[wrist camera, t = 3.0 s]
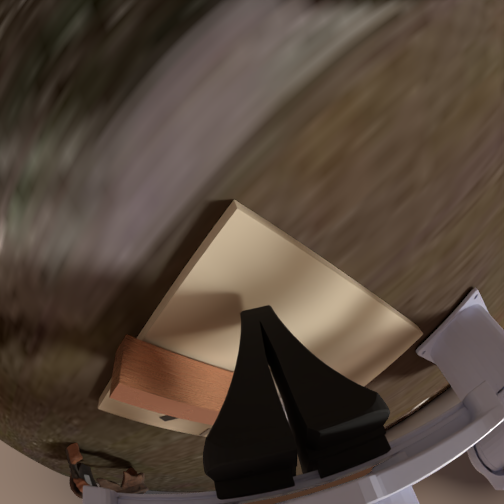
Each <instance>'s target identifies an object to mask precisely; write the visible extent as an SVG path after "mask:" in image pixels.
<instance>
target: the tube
mask: <svg viewBox="0 0 504 504" xmlns="http://www.w3.org/2000/svg"><path fill="white" fill-rule="evenodd" d="M460 402H461V401H460V399H459V398H458V396H457V395H456V393H455V391H454V390H453V388H452V387H450V388H449V389H448V390H446V391H445V392H444V393H442V394H441V395H440V396H438V397H437V398H436V399H434V400H433V401H432V402H430V403H429V404H427V405H426V406H424V407H423V408H422V409H420V410H419V411H417V412H416V413H414V414H413V415H411V416H410V417H408V418H406V419H405V420H403V421H402V422H400V423H398V424H397V425H395V426H394V427H392V428H390V429H388V430H387V431H386V434H385V436H386V438H387V440H388V443H389V442H391V441H393V440H395V439H397V438H399V437H401V436H403V435H405V434H407V433H409V432H411V431H413V430H415V429H417V428H418V427H420V426H422V425H424V424H426V423H427V422H429V421H431V420H433V419H434V418H436V417H438V416H439V415H441V414H443V413H444V412H446V411H448V410H449V409H451V408H452V407H454V406H455V405H457V404H458V403H460Z"/></svg>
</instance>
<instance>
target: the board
mask: <svg viewBox="0 0 504 504" xmlns="http://www.w3.org/2000/svg"><path fill="white" fill-rule="evenodd" d="M267 305H270V306H271V307H272V309H273V310H274V312H275V313H276V315H277V316H278V317H279V319H280V320H281V321H282V322H283V324H284V325H285V326H286V327H287V328H288V330H289V331H290V332H291V333H292V334H293V335H294V336H295V337H296V338H297V339H298V340H299V341H300V342H301V343H302V344H303V345H304V346H305V347H306V348H307V349H308V350H309V351H310V352H312V353H313V354H314V355H315V356H316V357H318V358H319V359H320V360H321V361H323V362H324V363H325V364H327V365H328V366H329V367H331V368H332V369H334V370H335V371H337V372H339V373H340V374H342V375H343V376H345V377H347V378H348V379H350V380H352V381H354V382H356V383H357V384H359V385H361V386H363V387H364V386H365V385H367V384H368V383H369V382H370V381H372V380H373V379H374V378H375V377H376V376H378V375H379V374H380V373H381V372H382V371H384V370H385V369H386V368H387V367H388V366H389V365H391V364H392V363H393V362H394V361H395V360H396V359H397V358H399V357H400V356H401V355H402V354H403V353H404V352H405V351H406V350H407V349H408V348H409V347H410V346H412V345H413V344H414V343H415V342H416V341H417V340H418V339H419V338H420V337H421V336H422V335H423V332H422V331H421V330H420V329H419V327H418V326H417V325H416V324H414V323H413V322H412V321H410V320H409V319H408V318H406V317H405V316H404V315H402V314H401V313H399V312H398V311H397V310H395V309H394V308H393V307H391V306H390V305H389V304H387V303H386V302H384V301H383V300H382V299H380V298H379V297H377V296H376V295H375V294H373V293H372V292H370V291H369V290H368V289H366V288H365V287H363V286H362V285H361V284H359V283H358V282H356V281H355V280H353V279H352V278H351V277H349V276H348V275H346V274H345V273H343V272H342V271H341V270H339V269H338V268H336V267H335V266H333V265H332V264H331V263H329V262H328V261H326V260H325V259H323V258H322V257H320V256H319V255H317V254H316V253H314V252H313V251H312V250H310V249H309V248H307V247H306V246H304V245H303V244H301V243H300V242H298V241H297V240H295V239H294V238H292V237H291V236H289V235H288V234H286V233H285V232H283V231H282V230H280V229H279V228H277V227H276V226H274V225H273V224H271V223H270V222H268V221H267V220H265V219H264V218H262V217H260V216H259V215H257V214H256V213H254V212H253V211H251V210H250V209H248V208H247V207H245V206H244V205H242V204H240V203H239V202H237V201H236V200H233V201H232V203H231V204H230V205H229V207H228V208H227V209H226V211H225V212H224V213H223V215H222V216H221V218H220V219H219V220H218V222H217V223H216V224H215V226H214V227H213V228H212V230H211V231H210V232H209V234H208V235H207V237H206V238H205V239H204V241H203V242H202V243H201V245H200V246H199V248H198V249H197V250H196V252H195V253H194V255H193V256H192V257H191V259H190V260H189V262H188V263H187V265H186V266H185V267H184V269H183V270H182V272H181V273H180V274H179V276H178V277H177V279H176V280H175V282H174V283H173V285H172V286H171V287H170V289H169V290H168V292H167V293H166V295H165V296H164V298H163V299H162V301H161V302H160V304H159V305H158V307H157V308H156V310H155V311H154V313H153V314H152V316H151V317H150V319H149V320H148V322H147V323H146V325H145V326H144V328H143V329H142V331H141V332H140V334H139V335H138V337H137V339H139V340H142V341H144V342H147V343H149V344H152V345H154V346H157V347H159V348H162V349H164V350H167V351H170V352H173V353H175V354H178V355H181V356H184V357H187V358H189V359H192V360H195V361H198V362H201V363H204V364H207V365H210V366H213V367H217V368H220V369H223V370H226V371H230V372H233V373H234V370H235V366H236V361H237V356H238V351H239V344H240V335H241V317H240V313H241V312H242V311H244V310H249V309H253V308H258V307H262V306H267ZM269 369H270V368H269ZM270 372H271V370H270ZM111 381H112V378H111V379H110V381H109V383H108V384H107V386H106V387H105V389H104V391H103V392H102V394H101V396H100V397H99V403H98V409H100V410H103V411H106V412H109V413H112V414H115V415H118V416H121V417H124V418H128V419H131V420H134V421H138V422H142V423H145V424H149V425H153V426H157V427H161V428H165V429H170V430H174V431H179V432H183V433H189V434H194V435H199V436H205V437H207V435H208V433H209V431H210V430H211V428H212V426H213V425H209V424H203V423H198V422H194V421H189V420H185V419H180V418H176V417H172V416H168V415H164V414H160V413H157V412H153V411H149V410H146V409H143V408H139V407H136V406H133V405H130V404H127V403H123V402H120V401H117V400H115V399H112V398H109V396H110V388H111Z"/></svg>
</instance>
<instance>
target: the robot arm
mask: <svg viewBox="0 0 504 504" xmlns="http://www.w3.org/2000/svg"><path fill="white" fill-rule="evenodd" d="M240 317H241V335H240V344H239V351H238V356H237V361H236V366H235V370H234V374H233V377H232V381H231V384H230V387H229V390H228V393H227V395H226V398H225V401H224V403H223V405H222V408H221V410H220V412H219V414H218V416H217V419H216V421H215V422H214V424H213V426H212V428H211V430H210V431H209V433H208V435H207V437H206V441H205V446H204V452H203V464H204V471H205V474H206V475H207V476H209V477H210V478H211V479H212V480H214V483H215V488H216V491H211V492H200V493H185V494H131V493H117V492H116V491H114V490H111V489H108V488H103V487H95V486H87V485H84V486H83V504H242V503H248V502H254V501H260V500H265V499H270V498H275V497H280V496H284V495H288V494H292V493H296V492H300V491H303V490H307V489H311V488H314V487H317V486H320V485H324V484H327V483H330V482H333V481H336V480H339V479H342V478H344V477H347V476H350V475H352V474H355V473H357V472H360V471H363V470H365V469H367V468H370V467H372V466H374V465H376V466H374V467H373V468H372V471H371V472H370V473H368V474H367V475H365V476H363V477H361V478H358V479H355V480H352V481H349V482H346V483H343V484H340V485H337V486H334V487H331V488H328V489H325V490H322V491H319V492H316V493H312V494H308V495H305V496H302V497H298V498H295V499H291V500H287V501H283V502H279V503H275V504H419V501H418V499H417V497H416V495H415V493H414V490H413V488H412V485H414V484H415V483H417V482H419V481H421V480H423V479H424V478H426V477H428V476H429V475H431V474H433V473H434V472H436V471H438V470H439V469H441V468H442V467H444V466H445V465H447V464H448V463H450V462H451V461H453V460H454V459H456V458H457V457H459V456H460V455H461V454H463V453H464V452H466V451H467V452H468V456H469V458H470V461H471V463H472V464H473V466H474V467H475V469H476V470H478V472H480V473H481V474H483V475H484V476H485V477H486V478H487V479H488V480H489V481H490V483H491V484H492V486H493V487H494V488H495V489H496V490H504V330H503V329H502V328H501V326H500V325H499V324H498V323H497V322H496V321H495V320H494V319H493V317H492V316H491V315H490V314H489V313H488V310H487V308H486V306H485V304H484V301H483V299H482V297H481V295H480V293H479V291H478V290H477V289H476V288H474V289H472V290H471V292H470V293H469V294H468V295H467V296H466V298H465V299H464V300H463V301H462V302H461V303H460V305H459V306H458V307H457V308H456V309H455V310H454V311H453V312H452V313H451V315H450V316H449V317H448V318H447V319H446V320H445V321H444V322H443V323H442V324H441V325H440V326H439V327H438V328H437V329H436V330H435V331H434V332H433V333H432V334H431V335H430V336H429V337H428V338H427V339H426V340H425V341H424V342H423V343H422V344H421V345H420V346H419V347H418V348H417V350H416V353H417V355H419V356H421V357H423V358H425V359H427V360H429V361H431V362H432V363H434V364H436V365H437V366H438V368H439V369H440V371H441V372H442V373H443V375H444V376H445V378H446V379H447V381H448V382H449V384H450V385H451V387H452V388H453V390H454V391H455V393H456V395H457V396H458V398H459V399H460V401H461V402H460V403H458V404H457V405H455V406H454V407H452V408H451V409H449V410H448V411H446V412H444V413H443V414H441V415H439V416H438V417H436V418H434V419H433V420H431V421H429V422H427V423H426V424H424V425H422V426H420V427H418V428H417V429H415V430H413V431H411V432H409V433H407V434H405V435H403V436H401V437H399V438H397V439H395V440H393V441H391V442H389V443H388V440H387V438H386V436H385V434H386V430H385V428H384V426H383V425H384V423H385V422H386V420H387V419H388V417H389V414H390V411H389V408H388V406H387V405H386V403H385V402H384V401H383V399H382V398H381V397H380V395H379V394H378V393H377V392H375V391H372V390H370V389H368V388H366V387H363V386H361V385H359V384H357V383H356V382H354V381H352V380H350V379H348V378H347V377H345V376H343V375H342V374H340V373H339V372H337V371H335V370H334V369H332V368H331V367H329V366H328V365H327V364H325V363H324V362H323V361H321V360H320V359H319V358H318V357H316V356H315V355H314V354H313V353H312V352H310V351H309V350H308V349H307V348H306V347H305V346H304V345H303V344H302V343H301V342H300V341H299V340H298V339H297V338H296V337H295V336H294V335H293V334H292V333H291V332H290V331H289V330H288V328H287V327H286V326H285V325H284V324H283V322H282V321H281V320H280V319H279V317H278V316H277V315H276V313H275V312H274V310H273V309H272V307H271V306H270V305H267V306H262V307H258V308H253V309H249V310H244V311H242V312H241V313H240ZM269 368H270V369H269ZM270 370H271V372H270ZM271 373H272V375H273V378H274V380H275V383H276V385H277V388H278V390H279V393H280V395H281V398H282V401H283V404H284V408H285V411H286V414H287V418H288V420H287V418H286V415H285V412H284V410H283V407H282V404H281V401H280V398H279V396H278V393H277V390H276V387H275V384H274V381H273V378H272V375H271ZM288 421H289V423H288ZM289 425H290V426H289ZM297 453H298V457H299V461H300V465H301V468H302V472H303V474H302V475H298V476H296V466H297ZM383 461H384V462H383ZM381 462H382V463H381ZM379 463H380V464H379ZM377 464H378V465H377Z"/></svg>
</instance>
